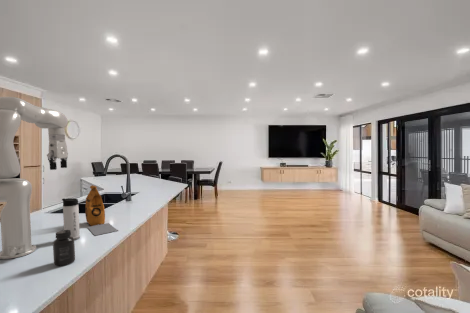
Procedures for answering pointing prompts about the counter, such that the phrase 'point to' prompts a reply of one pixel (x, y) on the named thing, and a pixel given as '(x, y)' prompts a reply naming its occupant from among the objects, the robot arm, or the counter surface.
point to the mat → (102, 229)
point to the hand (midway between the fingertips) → (58, 168)
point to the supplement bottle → (63, 248)
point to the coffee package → (94, 208)
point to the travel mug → (71, 216)
